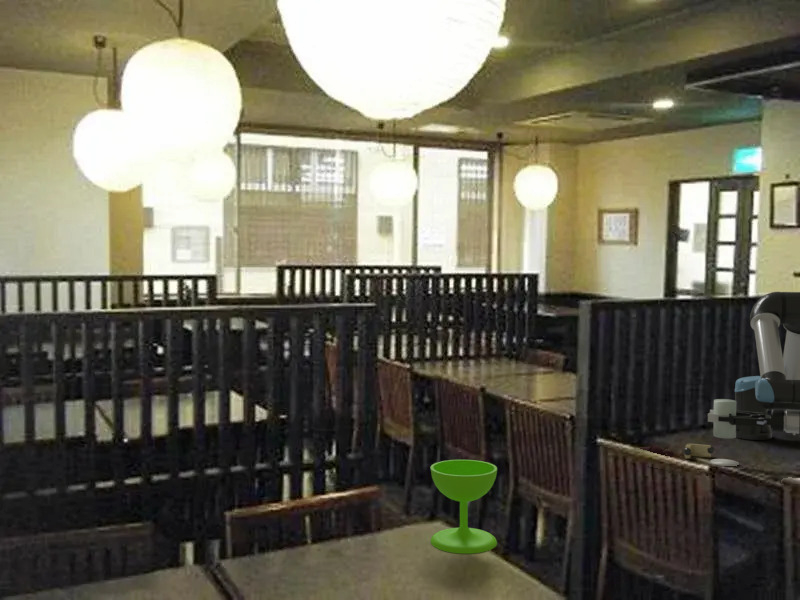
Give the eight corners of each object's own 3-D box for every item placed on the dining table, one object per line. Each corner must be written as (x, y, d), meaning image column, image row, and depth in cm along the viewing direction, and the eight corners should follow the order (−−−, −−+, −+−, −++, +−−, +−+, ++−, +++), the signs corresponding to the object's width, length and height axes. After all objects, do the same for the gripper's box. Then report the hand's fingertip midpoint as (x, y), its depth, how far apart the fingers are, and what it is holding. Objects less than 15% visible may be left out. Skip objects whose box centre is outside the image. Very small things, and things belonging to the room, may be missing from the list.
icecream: (627, 443, 266) (667, 455, 255) (638, 435, 270) (679, 446, 259) (628, 462, 268) (668, 474, 256) (639, 453, 272) (680, 464, 261)
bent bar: (685, 453, 278) (685, 442, 278) (714, 456, 273) (715, 445, 273) (682, 459, 270) (683, 447, 270) (712, 462, 266) (712, 450, 266)
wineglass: (476, 527, 199) (476, 457, 198) (509, 547, 184) (509, 471, 184) (419, 536, 193) (419, 463, 192) (449, 557, 178) (449, 479, 177)
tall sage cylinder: (714, 433, 268) (714, 398, 267) (736, 435, 265) (736, 399, 264) (712, 437, 262) (712, 401, 261) (735, 439, 258) (735, 403, 258)
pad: (711, 459, 269) (711, 457, 269) (739, 462, 265) (739, 460, 265) (708, 465, 261) (708, 463, 261) (738, 468, 257) (738, 466, 257)
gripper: (784, 438, 246) (706, 431, 256) (784, 427, 264) (711, 421, 274) (784, 414, 246) (706, 409, 256) (784, 404, 264) (711, 400, 274)
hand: (709, 415), depth 265 cm, fingers closed on tall sage cylinder, 7 cm apart
